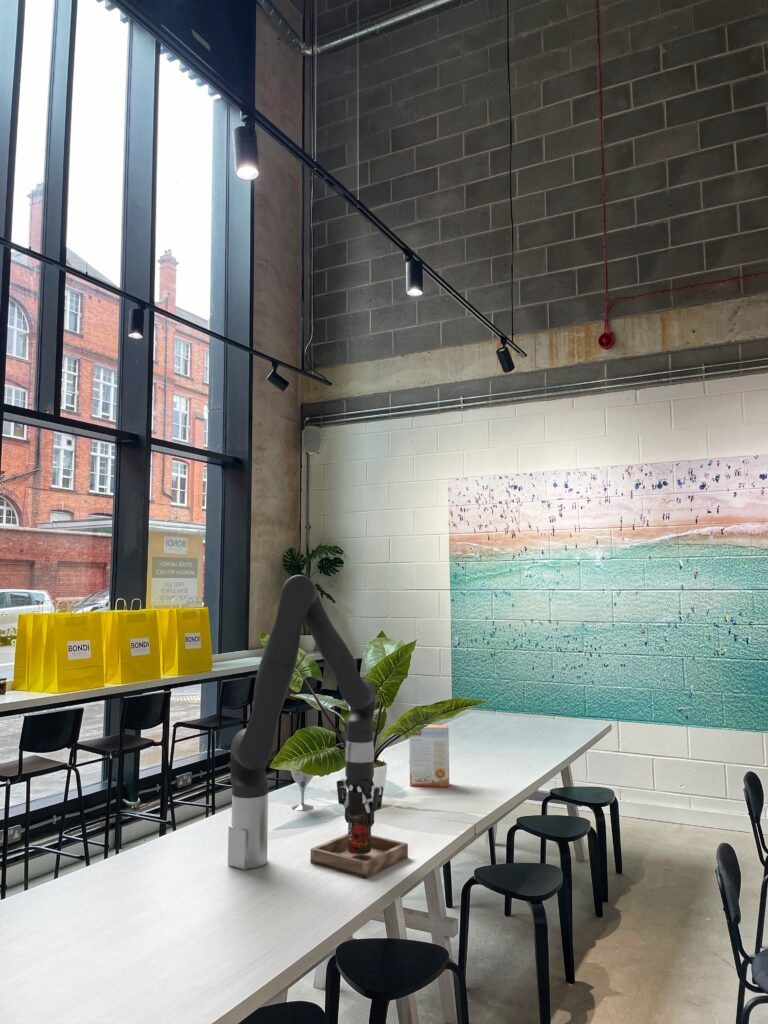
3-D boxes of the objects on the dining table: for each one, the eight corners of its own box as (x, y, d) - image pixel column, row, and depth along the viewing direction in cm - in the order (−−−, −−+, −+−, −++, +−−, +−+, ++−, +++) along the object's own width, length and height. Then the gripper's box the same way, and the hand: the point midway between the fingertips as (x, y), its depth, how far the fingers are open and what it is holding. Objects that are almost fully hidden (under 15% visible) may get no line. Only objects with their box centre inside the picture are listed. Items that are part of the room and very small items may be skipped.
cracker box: (449, 783, 273) (449, 724, 275) (448, 787, 267) (448, 727, 269) (411, 782, 275) (410, 723, 277) (409, 786, 269) (409, 726, 271)
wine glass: (285, 807, 243) (285, 759, 244) (304, 802, 248) (304, 755, 250) (300, 812, 237) (301, 763, 239) (320, 807, 243) (320, 759, 244)
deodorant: (343, 851, 195) (343, 791, 197) (358, 845, 200) (358, 786, 201) (360, 856, 192) (361, 795, 193) (375, 849, 196) (375, 790, 198)
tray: (366, 878, 183) (366, 863, 183) (310, 863, 193) (310, 848, 194) (407, 857, 197) (407, 843, 198) (353, 844, 208) (353, 830, 208)
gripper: (329, 757, 199) (328, 823, 197) (373, 764, 191) (373, 833, 189) (347, 752, 205) (346, 816, 204) (390, 759, 197) (390, 825, 195)
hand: (359, 824), depth 196 cm, fingers closed on deodorant, 6 cm apart
